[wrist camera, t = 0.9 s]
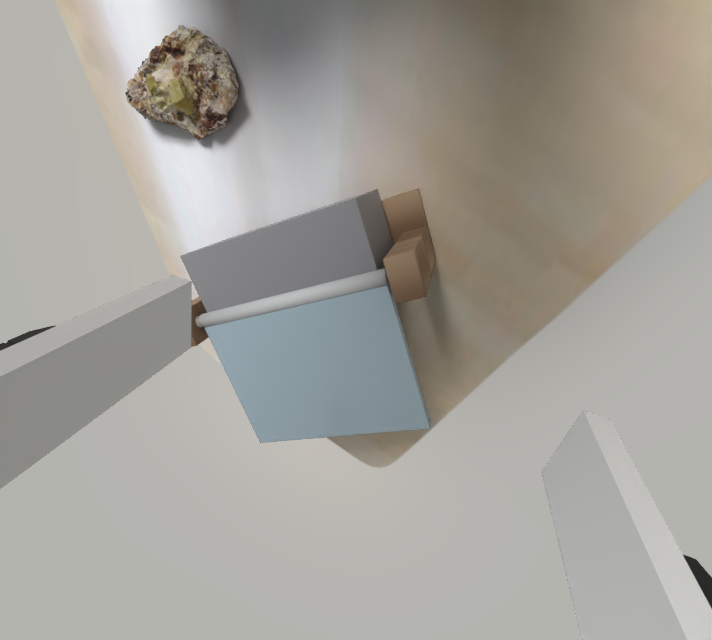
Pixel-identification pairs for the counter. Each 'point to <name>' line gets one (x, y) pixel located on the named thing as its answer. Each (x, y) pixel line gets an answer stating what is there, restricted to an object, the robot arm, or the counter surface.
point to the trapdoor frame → (402, 263)
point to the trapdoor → (311, 324)
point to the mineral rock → (186, 83)
